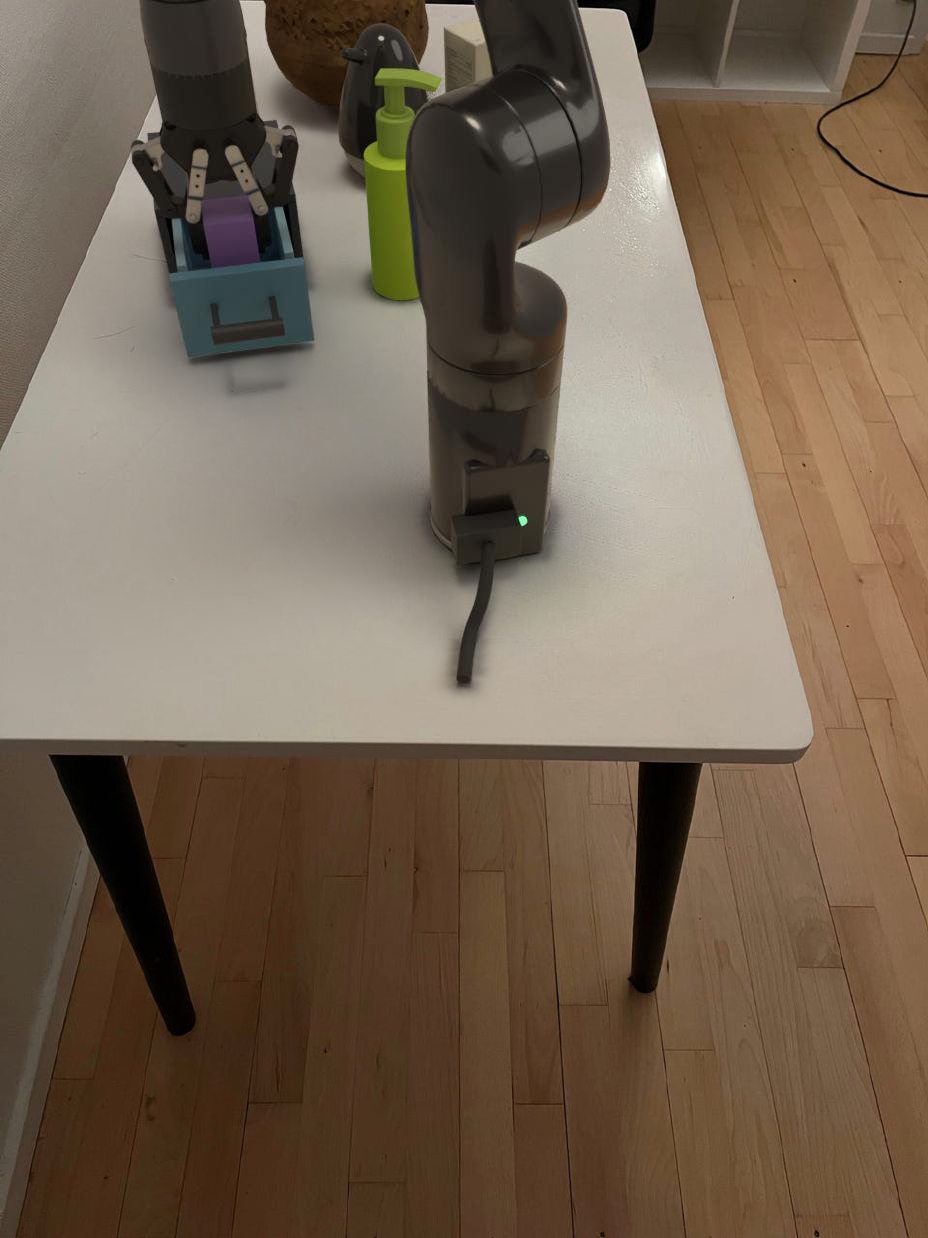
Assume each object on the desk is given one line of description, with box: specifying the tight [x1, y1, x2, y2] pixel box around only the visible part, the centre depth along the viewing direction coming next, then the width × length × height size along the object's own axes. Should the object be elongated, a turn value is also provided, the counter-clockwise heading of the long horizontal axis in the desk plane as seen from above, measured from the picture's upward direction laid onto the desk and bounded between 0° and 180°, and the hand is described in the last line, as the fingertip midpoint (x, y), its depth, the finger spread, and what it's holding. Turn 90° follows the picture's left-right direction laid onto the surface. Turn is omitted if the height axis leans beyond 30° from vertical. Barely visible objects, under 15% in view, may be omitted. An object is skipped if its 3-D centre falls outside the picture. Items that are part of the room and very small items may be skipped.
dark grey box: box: [146, 119, 305, 275], centre depth 103 cm, size 15×13×10 cm
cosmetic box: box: [443, 18, 492, 94], centre depth 117 cm, size 6×4×12 cm
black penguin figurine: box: [337, 23, 429, 178], centre depth 112 cm, size 10×10×15 cm
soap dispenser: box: [364, 69, 443, 301], centre depth 96 cm, size 6×7×20 cm
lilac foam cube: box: [201, 195, 260, 268], centre depth 92 cm, size 4×4×4 cm
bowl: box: [263, 0, 430, 109], centre depth 123 cm, size 19×19×15 cm
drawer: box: [168, 206, 315, 358], centre depth 95 cm, size 18×11×8 cm, turn 13°
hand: (234, 251), depth 94 cm, fingers closed on lilac foam cube, 4 cm apart
